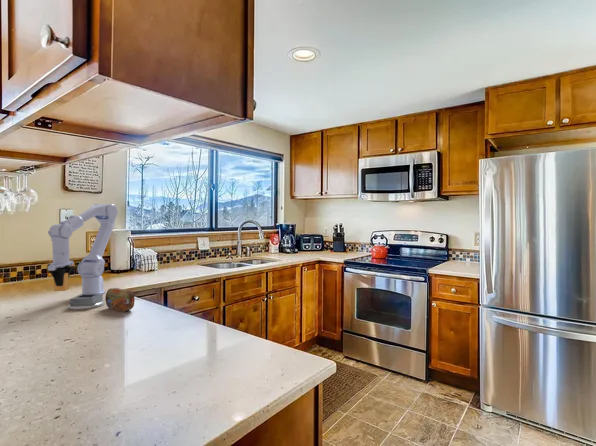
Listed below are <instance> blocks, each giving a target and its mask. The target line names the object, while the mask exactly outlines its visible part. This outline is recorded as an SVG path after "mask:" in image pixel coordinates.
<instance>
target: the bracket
mask: <svg viewBox="0 0 596 446" xmlns="http://www.w3.org/2000/svg"><path fill="white" fill-rule="evenodd" d="M103 294H104V293H97V294H82V293H80V294H78V295H76V296H74V297H71V298H69V304H68V309H69V310H73V311H84V310H91V309H96V308H100V307H102V306H104V305H105V300H104V298H103V297H104V296H103Z"/></svg>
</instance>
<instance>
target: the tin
mask: <svg viewBox="0 0 596 446" xmlns="http://www.w3.org/2000/svg"><path fill="white" fill-rule="evenodd" d="M104 298H105V300H104V302H105V305H106V307H107V309H110V310H113V311H117V312H118V311H119V312H122V313H123V312H127V311H131V310H132V309H133V308H134V306H135V299H136V298H135V295H134V292H133V291H132V290H131V289H129V288H127V289H126V288H120V287H119V288H118V287H112V288H108V290H107V291H106V292H105V297H104Z"/></svg>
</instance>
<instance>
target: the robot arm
mask: <svg viewBox="0 0 596 446" xmlns="http://www.w3.org/2000/svg"><path fill="white" fill-rule="evenodd" d="M118 214H119V211H118V209H117V206H116V204H114V203H103V204H102V203H100V204H99V203H95V204H93V205H90V207H89V208H88V209H86V210H85V211H84V212H82V213H81V214H79V215H74V214H73V215H69V216H68V218H67V219H65V220H61V221H60V223H55V224H52V225H51V226H50V228H49V229H48V231H47V233H48V236H49V237H50V241H51V242H52V262H51V263H50V264H49V265H48V266H47V271H49V273H50V274H51V276H52V278H53V281H54V280H55V283H56V286H62V285H63V278H64V274H65V273H68V280H69V278H70V275H71V272H72V271H73V269H74V260H70V237H72V235H73V232H75V231H77V230H78V229H80V228H81V227H83V226H84V223H85V222H87V221H88V220H90V219H93V218H95V220H97V222H98V223H99V224H100V226H99V228H98V232H97V233H96V236H95V239H94V242H93V243H92V245H91V249H90V251H89V254H87V255H86V256H85V257H83V258H82V260H81V261H80V263H79V264H78V265H77V273H78V274H79V275H80V277H81V290H82V293H81V294H97V293H103V294H104V293H105V294H106V293H107V291H106V290H104V277H103V276H102V275H103V273H104V271H105V263H106V261H105V260H104V258H103V256H104V253H105V250H106V248H107V245H108V242H109V240H110V238H111V235H112V232H113V229H114V228H115V223H116V222H115V221H116V219H117V216H118Z"/></svg>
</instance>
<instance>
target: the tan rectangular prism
mask: <svg viewBox="0 0 596 446" xmlns="http://www.w3.org/2000/svg"><path fill="white" fill-rule="evenodd" d="M53 285H54V286H53V289H54V290H53V291H54V292H65V291H68V290H69V289H70V288H69V287H70V286H69V279H68V273H65V274H64V278H63V285H62V286H56V283H55V280H54V279H53Z"/></svg>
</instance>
